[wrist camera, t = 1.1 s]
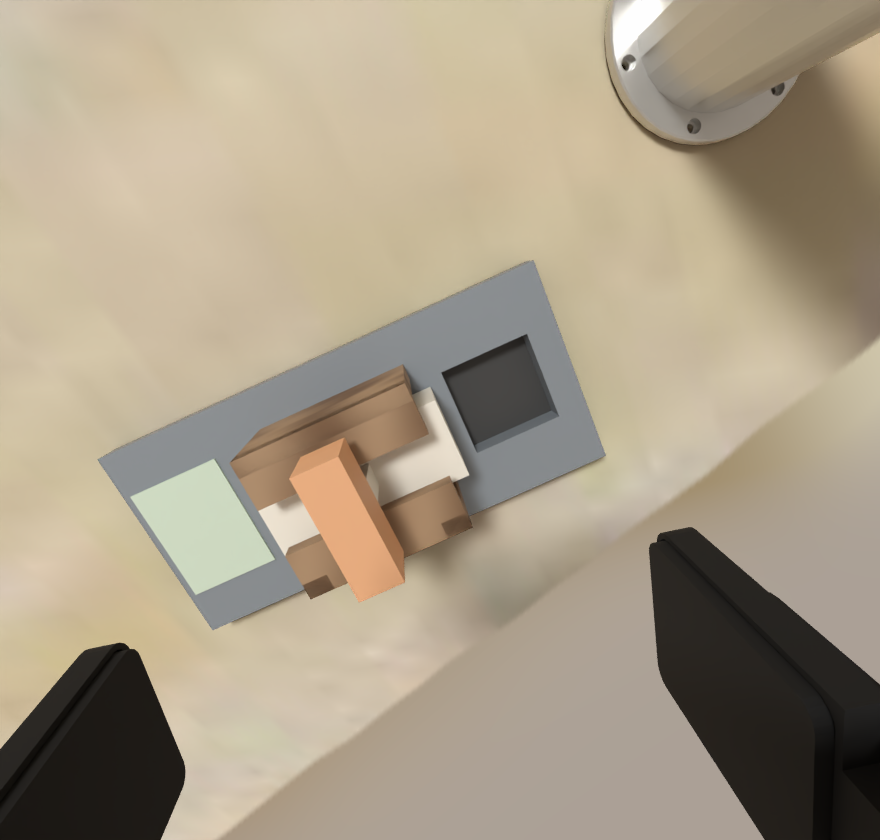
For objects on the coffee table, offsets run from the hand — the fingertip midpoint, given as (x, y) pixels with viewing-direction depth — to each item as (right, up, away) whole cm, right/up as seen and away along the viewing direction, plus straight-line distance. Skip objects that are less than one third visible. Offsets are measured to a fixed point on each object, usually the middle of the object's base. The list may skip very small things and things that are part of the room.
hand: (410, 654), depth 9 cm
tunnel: (-5, +2, +25) cm, 25 cm away
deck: (-5, +2, +27) cm, 27 cm away
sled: (-5, +2, +25) cm, 25 cm away
